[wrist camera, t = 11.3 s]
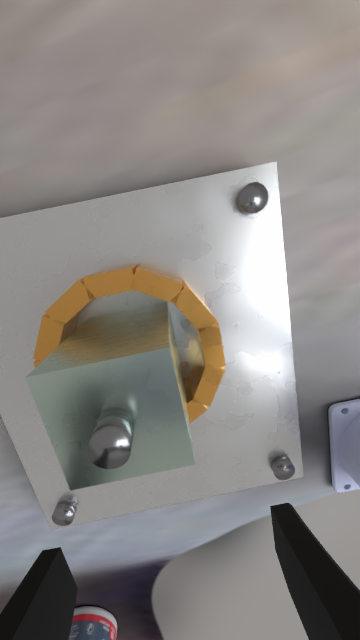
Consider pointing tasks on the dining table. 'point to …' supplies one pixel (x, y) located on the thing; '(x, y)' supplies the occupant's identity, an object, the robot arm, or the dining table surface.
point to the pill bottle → (93, 624)
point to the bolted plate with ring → (187, 321)
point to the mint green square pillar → (115, 398)
